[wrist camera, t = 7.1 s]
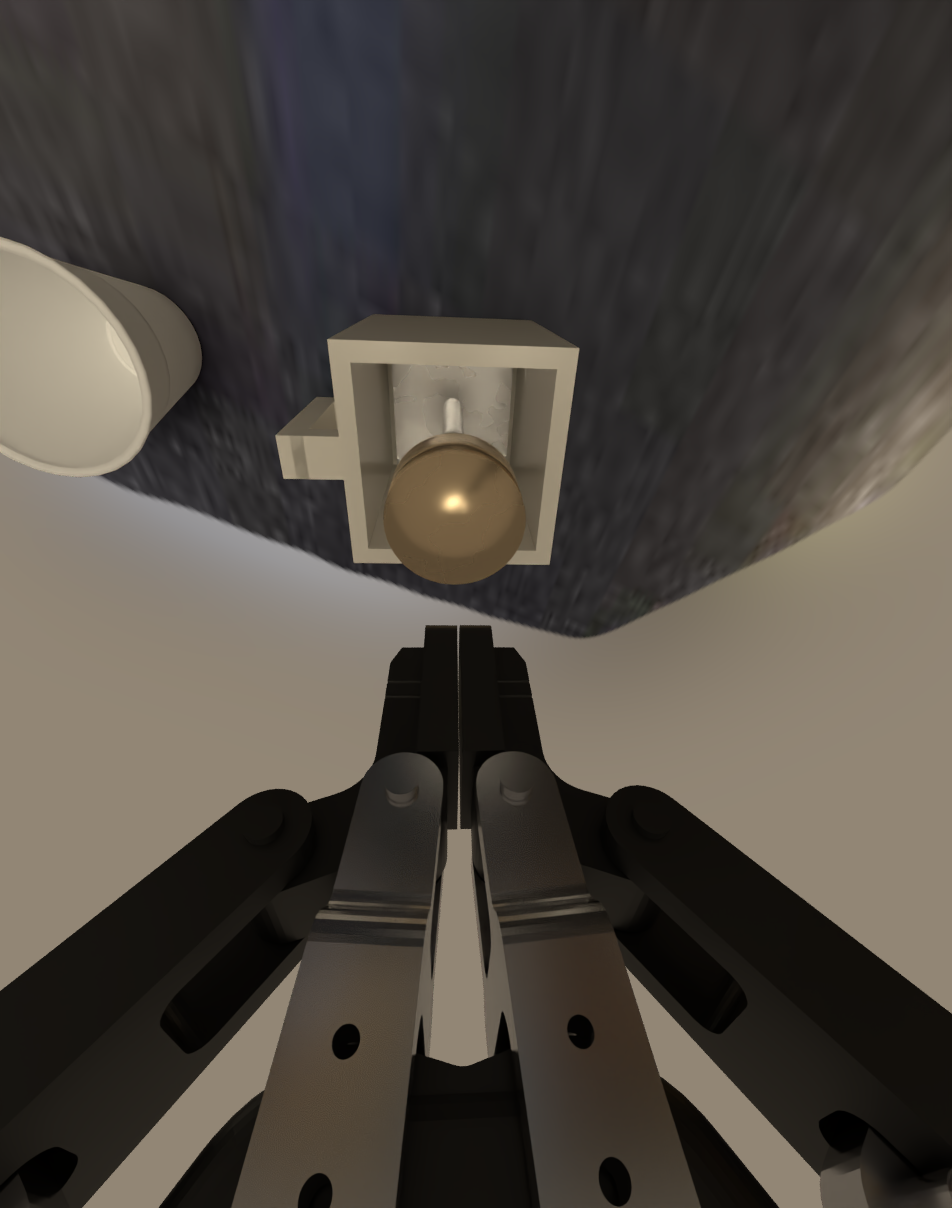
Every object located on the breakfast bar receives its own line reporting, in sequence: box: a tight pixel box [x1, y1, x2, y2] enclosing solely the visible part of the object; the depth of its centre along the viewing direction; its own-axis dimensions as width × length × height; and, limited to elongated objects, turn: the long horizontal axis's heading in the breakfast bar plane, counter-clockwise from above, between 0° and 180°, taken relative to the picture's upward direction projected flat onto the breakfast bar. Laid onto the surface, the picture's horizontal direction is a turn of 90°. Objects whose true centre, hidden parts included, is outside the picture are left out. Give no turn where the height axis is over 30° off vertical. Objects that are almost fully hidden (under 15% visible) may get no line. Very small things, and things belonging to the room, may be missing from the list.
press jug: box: [275, 314, 579, 565], centre depth 28 cm, size 13×10×14 cm
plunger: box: [383, 364, 526, 584], centre depth 25 cm, size 8×8×19 cm
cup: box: [0, 237, 202, 477], centre depth 26 cm, size 10×10×11 cm
